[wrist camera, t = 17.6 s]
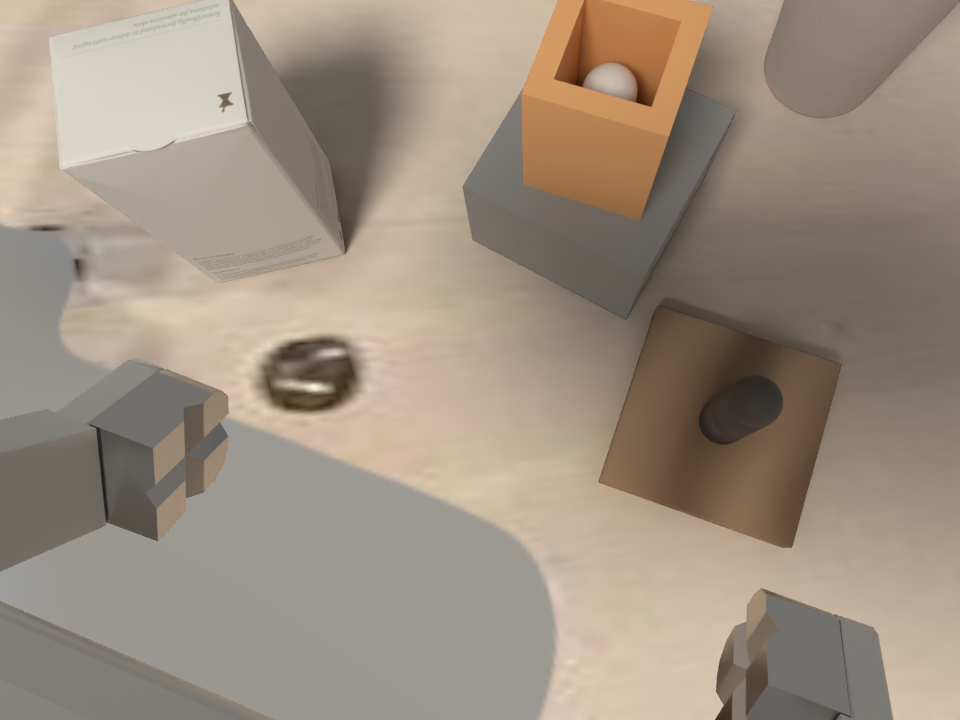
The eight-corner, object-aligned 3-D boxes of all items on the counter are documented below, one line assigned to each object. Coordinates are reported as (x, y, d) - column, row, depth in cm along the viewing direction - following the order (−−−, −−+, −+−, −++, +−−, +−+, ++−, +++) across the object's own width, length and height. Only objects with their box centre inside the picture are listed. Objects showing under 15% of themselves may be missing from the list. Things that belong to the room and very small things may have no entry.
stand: (831, 370, 42) (906, 327, 34) (782, 547, 40) (849, 548, 32) (653, 313, 44) (683, 258, 35) (598, 482, 42) (615, 466, 33)
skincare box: (332, 162, 47) (239, -18, 32) (349, 263, 46) (259, 123, 30) (198, 191, 47) (42, 25, 32) (210, 292, 46) (52, 168, 31)
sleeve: (676, 114, 39) (713, 6, 31) (640, 220, 38) (669, 136, 30) (562, 81, 40) (570, -31, 32) (523, 184, 38) (521, 93, 31)
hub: (705, 175, 45) (774, 31, 33) (625, 319, 44) (665, 226, 31) (555, 104, 47) (564, -61, 34) (472, 239, 45) (450, 120, 33)
